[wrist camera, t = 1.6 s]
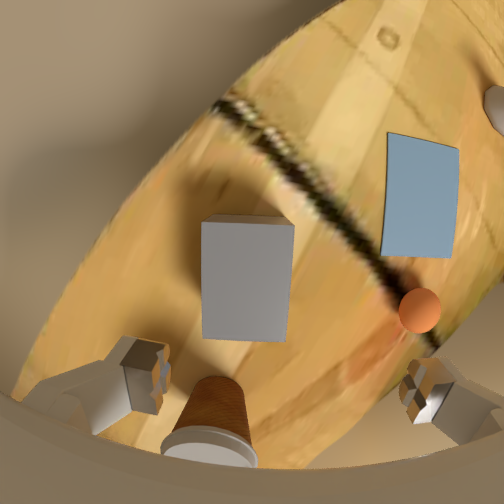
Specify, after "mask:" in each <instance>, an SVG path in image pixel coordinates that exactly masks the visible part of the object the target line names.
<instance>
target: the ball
mask: <svg viewBox="0 0 504 504" xmlns="http://www.w3.org/2000/svg"><path fill="white" fill-rule="evenodd" d="M440 314H441V305H440V301H439V299H438V297H437V296H436V294H435V293H433V292H432V291H431V290H429V289H425V288H416V289H413V290H411V291H410V292H408V293H407V294H406V295H405V296H404V297H403V299H402V301H401V303H400V306H399V317H400V321H401V323H402V324H403V326H404V327H405V328H406V329H407V330H409V331H411V332H414V333H424V332H427V331H429V330H430V329H432V328H433V327H434V326H435V325H436V323H437V322H438V320H439V317H440Z"/></svg>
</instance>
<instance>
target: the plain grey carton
mask: <svg viewBox="0 0 504 504" xmlns="http://www.w3.org/2000/svg"><path fill="white" fill-rule="evenodd" d="M294 228H295V226H294V225H293V224H292V223H291V222H290V221H289V220H288V219H287V218H286V217H279V216H256V215H228V214H213V215H211V216H210V217H208V218H207V219H205V220H204V221H202V222H201V293H202V335H203V339H217V340H235V341H259V342H285V341H286V331H287V320H288V309H289V298H290V285H291V273H292V259H293V244H294Z"/></svg>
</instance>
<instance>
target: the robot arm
mask: <svg viewBox="0 0 504 504" xmlns="http://www.w3.org/2000/svg"><path fill="white" fill-rule="evenodd" d="M169 356H170V347H169V345H168V343H163V342H158V341H153V340H148V339H143V338H138V337H134V336H129V335H124V336H122V337H121V339H120V340H119V341H118V342H117V344H116V345H115V346H114V348H113V349H112V350H111V351H110V353H109V354H108V355H107V357H106V358H105V359H104V361H101V360H98V361H95V362H93V363H90V364H87V365H84V366H82V367H79V368H76V369H73V370H71V371H68V372H65V373H62V374H59V375H57V376H54V377H51V378H48V379H45V380H42V381H40V382H39V383H38V384H37V385H36V386H35V387H34V388H33V389H32V391H31V392H30V393H29V394H28V395H27V396H26V397H25V399H24V400H23V401H22V402H21V403H20V402H18V401H16V400H15V399H13V398H11V397H9V396H7V395H5V394H4V393H2V392H0V504H504V397H503V396H502V395H499V394H497V393H495V392H493V391H491V390H489V389H487V388H485V387H483V386H481V385H479V384H477V383H475V382H473V381H471V380H467V379H466V378H465V377H464V376H463V375H462V373H461V372H460V371H459V370H458V368H457V367H456V366H455V365H454V364H453V363H452V361H451V360H450V359H449V358H448V357H446V356H444V357H435V358H426V359H412V361H411V362H410V363H409V365H408V367H407V371H408V374H407V375H406V376H405V377H404V378H403V379H402V381H401V384H400V386H399V397H400V400H401V402H402V404H404V405H405V406H407V407H408V408H407V411H406V412H407V414H408V416H409V418H410V420H411V422H412V424H418V423H426V422H432V424H434V425H435V426H436V427H437V428H439V429H440V430H441V431H442V432H443V433H445V434H446V435H447V436H448V437H450V438H451V439H452V440H453V441H455V442H456V443H457V444H458V445H459V446H456V447H453V448H449V449H446V450H442V451H438V452H435V453H430V454H426V455H422V456H417V457H413V458H408V459H402V460H397V461H392V462H386V463H378V464H371V465H363V466H355V467H342V468H327V469H263V468H248V467H236V466H227V465H219V464H211V463H204V462H198V461H192V460H186V459H181V458H176V457H171V456H166V455H162V454H157V453H153V452H149V451H145V450H141V449H137V448H134V447H130V446H127V445H123V444H120V443H117V442H113V441H110V440H107V439H104V438H101V437H98V436H95V435H97V434H98V433H100V432H101V431H103V430H105V429H106V428H108V427H109V426H111V425H112V424H114V423H115V422H117V421H118V420H120V419H121V418H123V417H124V416H126V415H127V414H129V413H130V412H132V410H134V411H138V412H143V413H148V414H153V415H158V413H159V410H160V408H161V406H162V403H163V394H165V393H166V392H167V391H168V388H169V384H170V379H171V365H170V364H169V363H168V361H167V360H168V358H169Z"/></svg>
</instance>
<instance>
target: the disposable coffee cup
mask: <svg viewBox="0 0 504 504" xmlns="http://www.w3.org/2000/svg"><path fill="white" fill-rule="evenodd" d="M249 432H250V431H249V425H248V419H247V412H246V406H245V399H244V393H243V390H242V389H241V387H240V386H239V385H238V384H237V383H236V382H234V381H232V380H230V379H228V378H224V377H217V376H215V377H207V378H205V379H202V380H201V381H199V382H198V383H197V384H196V386H195V388H194V390H193V392H192V394H191V396H190V398H189V400H188V402H187V404H186V405H185V407H184V409H183V411H182V413H181V415H180V417H179V419H178V421H177V423H176V425H175V427H174V429H173V430H172V432H171V433H170V434H169V435H168V436H167V437H166V438H165V439H164V440H163V442H162V444H161V447H160V449H161V454H162V455H166V456H171V457H176V458H181V459H186V460H192V461H198V462H204V463H211V464H219V465H227V466H236V467H248V468H257V465H258V457H257V455H256V452H255V450H254V449H253V447H252V443H251V438H250V433H249Z"/></svg>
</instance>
